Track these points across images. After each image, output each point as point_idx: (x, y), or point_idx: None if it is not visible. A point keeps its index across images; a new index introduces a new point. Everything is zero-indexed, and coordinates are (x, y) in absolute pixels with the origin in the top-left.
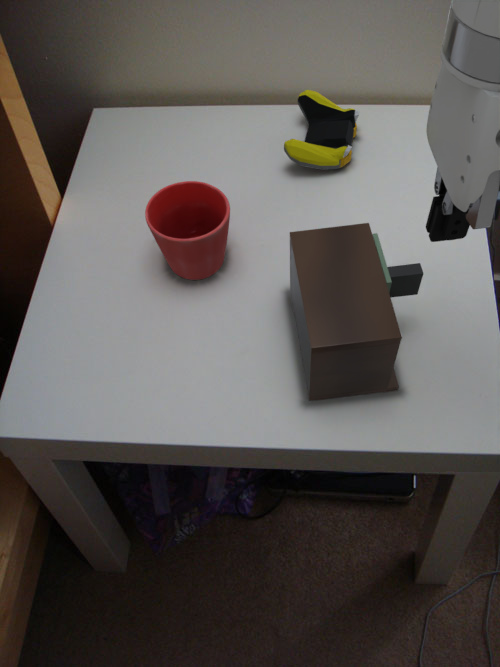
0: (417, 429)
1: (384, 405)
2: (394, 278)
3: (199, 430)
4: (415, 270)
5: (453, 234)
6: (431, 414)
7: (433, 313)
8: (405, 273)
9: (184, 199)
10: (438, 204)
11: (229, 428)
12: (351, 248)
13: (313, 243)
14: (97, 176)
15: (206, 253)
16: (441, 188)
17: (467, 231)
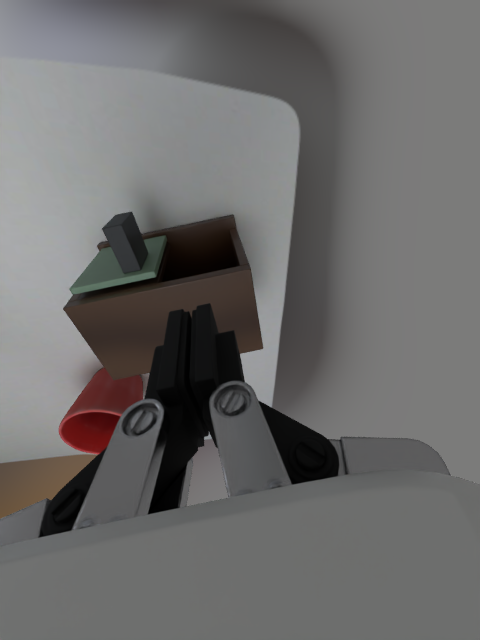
0: (275, 195)
1: (249, 228)
2: (138, 261)
3: (269, 354)
4: (119, 236)
5: (238, 351)
6: (259, 178)
7: (120, 163)
8: (128, 249)
9: (78, 426)
10: (207, 432)
11: (269, 338)
12: (119, 325)
13: (123, 360)
14: (57, 447)
15: (133, 399)
16: (190, 474)
17: (210, 312)
